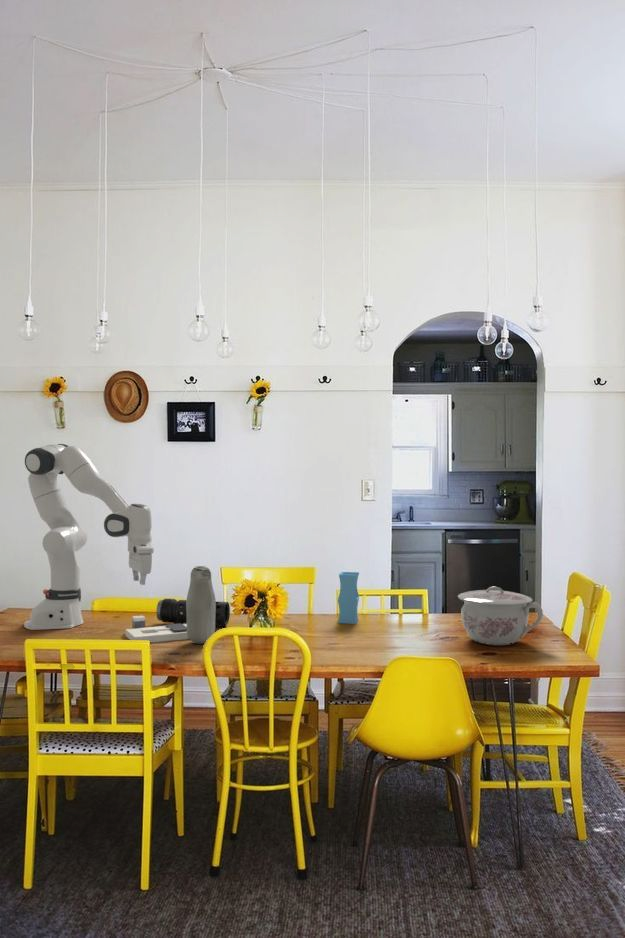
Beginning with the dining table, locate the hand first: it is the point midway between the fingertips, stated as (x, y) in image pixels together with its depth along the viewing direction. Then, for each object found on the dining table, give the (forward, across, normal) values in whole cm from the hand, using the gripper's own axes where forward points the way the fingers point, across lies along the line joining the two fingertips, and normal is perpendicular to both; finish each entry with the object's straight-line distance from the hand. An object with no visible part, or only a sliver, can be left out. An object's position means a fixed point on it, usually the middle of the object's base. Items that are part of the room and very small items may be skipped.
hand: (139, 582), depth 311 cm
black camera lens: (+20, -4, +23) cm, 30 cm away
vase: (+19, +14, +84) cm, 87 cm away
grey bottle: (+19, +26, +16) cm, 36 cm away
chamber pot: (+19, +67, +117) cm, 136 cm away
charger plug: (+19, 0, 0) cm, 19 cm away
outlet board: (+19, +11, +6) cm, 23 cm away
